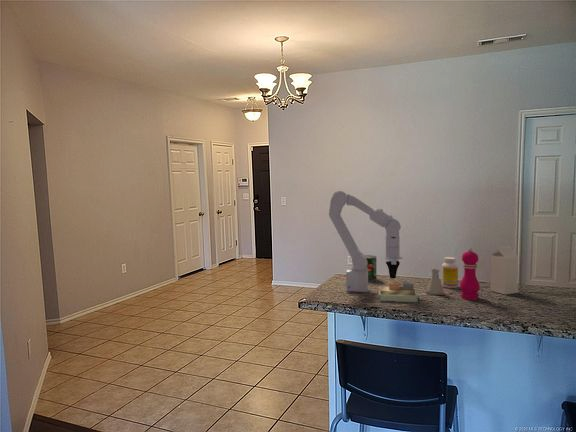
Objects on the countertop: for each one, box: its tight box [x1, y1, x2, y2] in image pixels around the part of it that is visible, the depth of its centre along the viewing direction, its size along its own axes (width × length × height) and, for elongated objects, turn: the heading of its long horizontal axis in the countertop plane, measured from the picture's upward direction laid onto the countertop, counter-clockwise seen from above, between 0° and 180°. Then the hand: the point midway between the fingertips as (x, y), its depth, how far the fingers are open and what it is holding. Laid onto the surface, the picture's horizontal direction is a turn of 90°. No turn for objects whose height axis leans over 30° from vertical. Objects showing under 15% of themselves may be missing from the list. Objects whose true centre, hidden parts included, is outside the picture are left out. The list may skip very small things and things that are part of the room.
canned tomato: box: [364, 254, 378, 282], centre depth 199 cm, size 8×8×11 cm
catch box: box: [378, 290, 419, 303], centre depth 162 cm, size 15×6×2 cm, turn 80°
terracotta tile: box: [388, 281, 400, 290], centre depth 169 cm, size 4×4×2 cm
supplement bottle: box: [441, 256, 459, 289], centre depth 181 cm, size 7×7×13 cm
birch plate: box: [378, 285, 416, 296], centre depth 169 cm, size 14×8×2 cm, turn 80°
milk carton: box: [490, 245, 519, 295], centre depth 170 cm, size 7×7×19 cm
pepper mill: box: [459, 247, 481, 301], centre depth 162 cm, size 7×7×20 cm
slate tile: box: [401, 281, 414, 290], centre depth 169 cm, size 4×4×2 cm
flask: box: [425, 268, 445, 296], centre depth 171 cm, size 7×7×10 cm
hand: (392, 278), depth 177 cm, fingers closed
